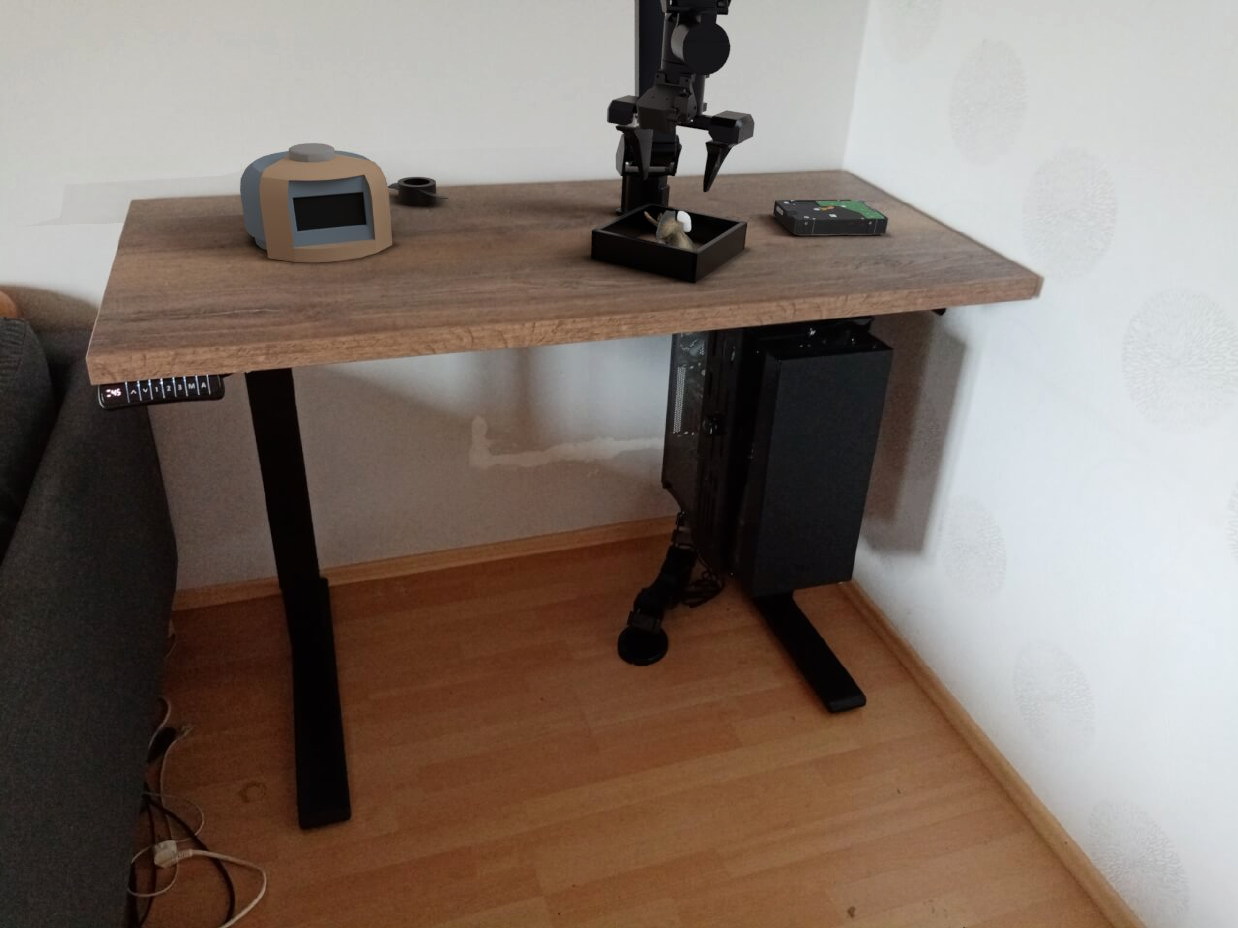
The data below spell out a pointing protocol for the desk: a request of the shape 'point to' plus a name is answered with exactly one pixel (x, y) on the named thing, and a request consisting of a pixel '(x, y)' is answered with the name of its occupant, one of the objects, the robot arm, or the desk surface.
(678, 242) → the eagle figurine
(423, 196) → the duct tape
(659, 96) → the robot arm
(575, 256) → the desk surface
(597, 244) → the desk tidy
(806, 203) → the disk drive
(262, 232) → the alarm clock
